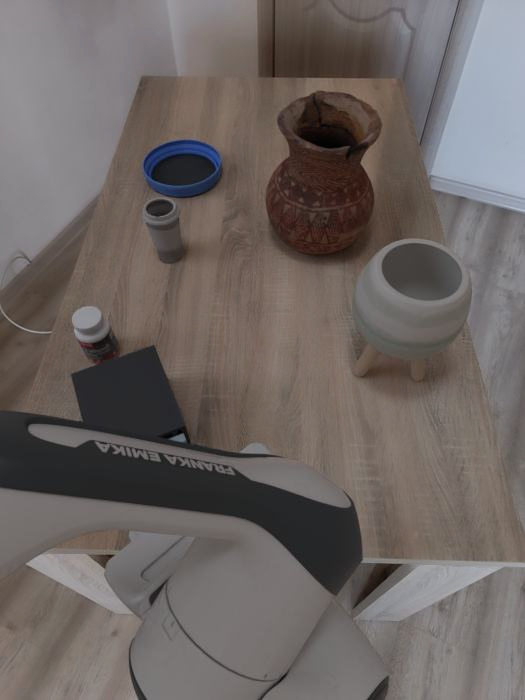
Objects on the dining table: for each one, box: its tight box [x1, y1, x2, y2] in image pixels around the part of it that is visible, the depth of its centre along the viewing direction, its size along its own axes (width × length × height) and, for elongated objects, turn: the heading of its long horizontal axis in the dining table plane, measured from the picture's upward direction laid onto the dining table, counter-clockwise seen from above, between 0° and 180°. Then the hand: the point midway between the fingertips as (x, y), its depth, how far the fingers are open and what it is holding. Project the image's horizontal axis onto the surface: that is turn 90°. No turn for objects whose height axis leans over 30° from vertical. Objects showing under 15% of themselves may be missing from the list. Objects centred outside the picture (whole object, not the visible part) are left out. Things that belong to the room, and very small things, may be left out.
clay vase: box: [265, 90, 383, 255], centre depth 90 cm, size 22×21×25 cm
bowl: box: [142, 138, 223, 198], centre depth 110 cm, size 18×18×4 cm
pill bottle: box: [71, 305, 120, 365], centre depth 79 cm, size 6×6×10 cm
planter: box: [351, 238, 473, 382], centre depth 72 cm, size 16×16×22 cm
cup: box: [141, 196, 183, 264], centre depth 91 cm, size 7×7×12 cm
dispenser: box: [70, 344, 192, 444], centre depth 71 cm, size 15×13×10 cm
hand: (169, 481), depth 54 cm, fingers open, 8 cm apart
